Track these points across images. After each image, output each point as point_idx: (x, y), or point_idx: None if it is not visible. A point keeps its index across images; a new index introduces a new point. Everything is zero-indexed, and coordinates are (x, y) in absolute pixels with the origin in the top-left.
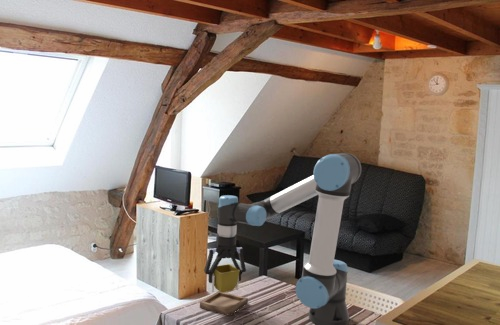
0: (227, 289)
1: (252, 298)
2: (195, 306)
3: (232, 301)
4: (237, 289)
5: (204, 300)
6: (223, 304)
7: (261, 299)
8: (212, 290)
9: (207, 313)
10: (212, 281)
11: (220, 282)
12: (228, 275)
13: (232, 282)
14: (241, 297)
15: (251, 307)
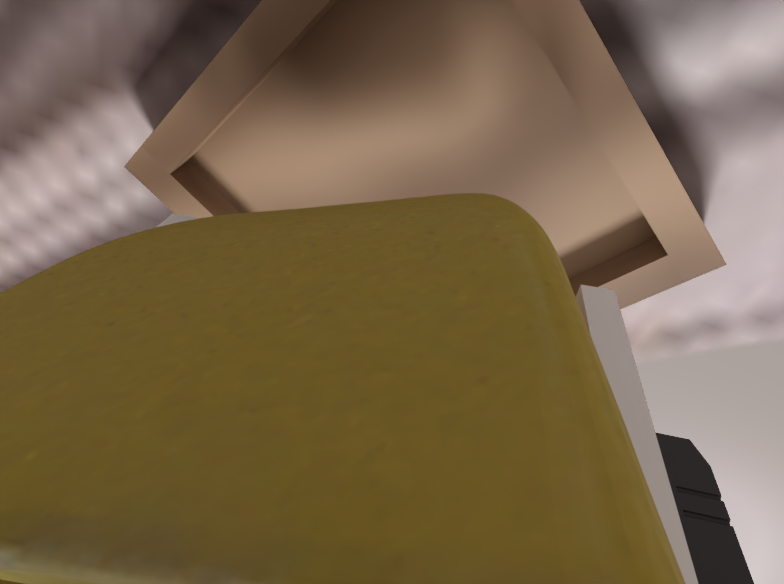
0: (353, 203)
1: (110, 234)
2: (728, 268)
3: (308, 201)
4: (180, 219)
5: (639, 284)
6: (434, 160)
7: (27, 187)
8: (611, 301)
9: (735, 21)
10: (657, 444)
11: (563, 271)
12: (186, 399)
13: (189, 246)
14: (193, 209)
15: (124, 24)
